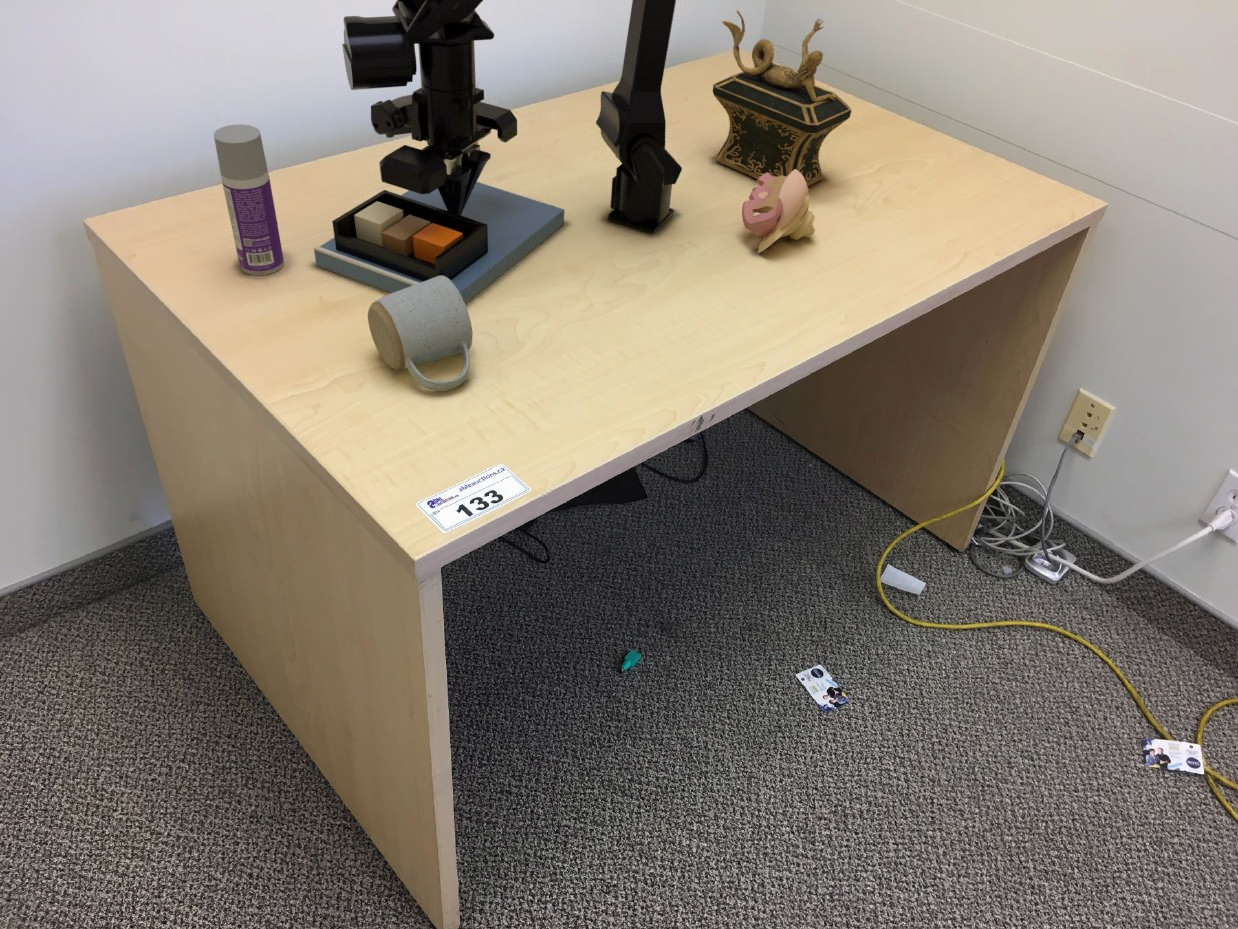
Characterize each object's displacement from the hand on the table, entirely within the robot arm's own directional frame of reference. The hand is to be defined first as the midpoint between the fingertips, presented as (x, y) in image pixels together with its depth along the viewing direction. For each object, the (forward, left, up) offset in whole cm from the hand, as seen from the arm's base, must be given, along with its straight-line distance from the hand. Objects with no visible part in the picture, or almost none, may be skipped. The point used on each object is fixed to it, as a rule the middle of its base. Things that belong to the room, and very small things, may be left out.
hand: (455, 215), depth 116 cm
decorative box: (-23, -40, -3) cm, 46 cm away
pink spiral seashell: (-32, -21, -3) cm, 38 cm away
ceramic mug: (-12, +22, -3) cm, 25 cm away
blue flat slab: (0, +2, -3) cm, 3 cm away
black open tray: (0, +8, -1) cm, 8 cm away
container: (+14, +17, -3) cm, 22 cm away
